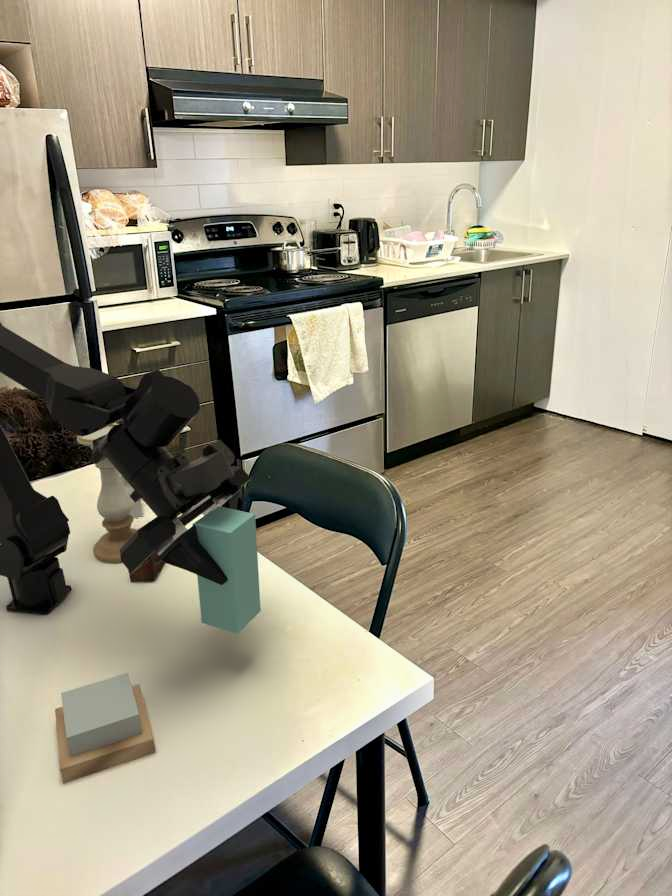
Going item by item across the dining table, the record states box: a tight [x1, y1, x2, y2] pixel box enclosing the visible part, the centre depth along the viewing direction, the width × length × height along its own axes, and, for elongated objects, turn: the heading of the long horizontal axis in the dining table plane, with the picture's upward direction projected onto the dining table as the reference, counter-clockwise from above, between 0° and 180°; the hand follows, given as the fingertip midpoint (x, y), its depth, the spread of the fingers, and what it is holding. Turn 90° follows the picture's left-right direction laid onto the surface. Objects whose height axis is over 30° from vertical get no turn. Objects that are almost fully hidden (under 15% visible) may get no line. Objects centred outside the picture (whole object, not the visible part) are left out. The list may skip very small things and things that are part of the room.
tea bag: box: [120, 474, 144, 519], centre depth 120 cm, size 4×7×10 cm, turn 17°
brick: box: [127, 551, 166, 583], centre depth 104 cm, size 11×4×5 cm, turn 178°
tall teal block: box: [192, 506, 262, 635], centre depth 78 cm, size 5×5×13 cm
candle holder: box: [76, 422, 138, 564], centre depth 105 cm, size 9×9×20 cm
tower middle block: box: [60, 672, 142, 757], centre depth 71 cm, size 7×7×2 cm
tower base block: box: [54, 683, 156, 784], centre depth 72 cm, size 9×9×2 cm
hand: (238, 570), depth 77 cm, fingers closed on tall teal block, 5 cm apart
